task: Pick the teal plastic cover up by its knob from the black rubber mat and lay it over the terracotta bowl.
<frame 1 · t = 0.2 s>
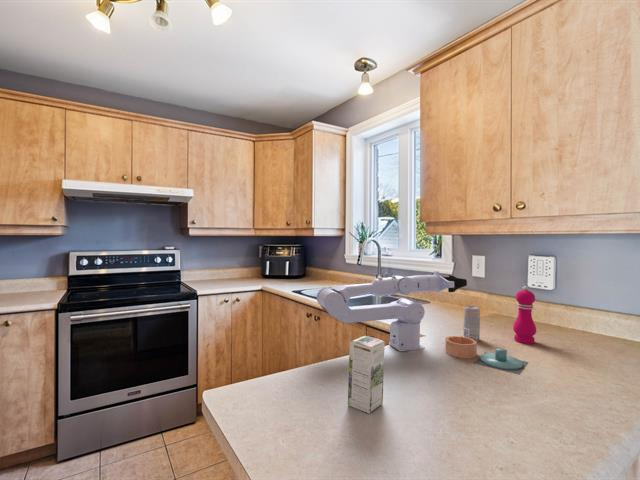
hand: (458, 281, 120), 22 cm above the worktop, tool horizontal, fingers open, 7 cm apart
bowl: (460, 354, 108), on the worktop
syrup box: (365, 406, 75), on the worktop
mat: (500, 364, 101), on the worktop
pepper mill: (524, 341, 123), on the worktop
energy drink: (471, 340, 123), on the worktop
cover: (500, 362, 101), resting on mat
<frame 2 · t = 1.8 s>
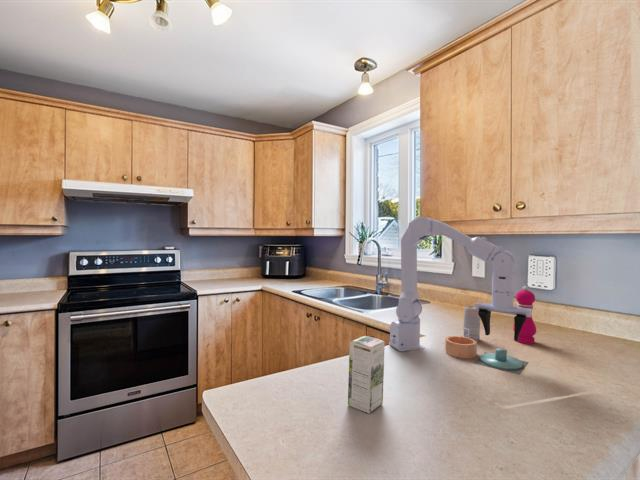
hand: (501, 337, 101), 8 cm above the worktop, tool pointing down, fingers open, 7 cm apart
nothing on the worktop moved.
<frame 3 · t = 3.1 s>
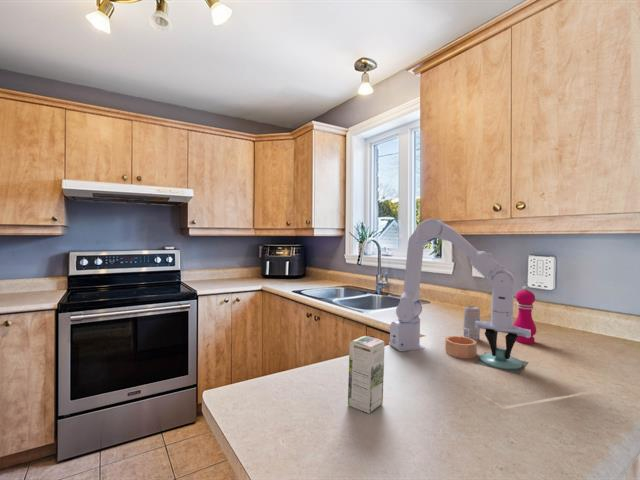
hand: (500, 356, 101), 2 cm above the worktop, tool pointing down, fingers closed on cover, 3 cm apart
cover: (500, 362, 101), point 1 cm above the worktop, touching gripper, mat
everything else where it was.
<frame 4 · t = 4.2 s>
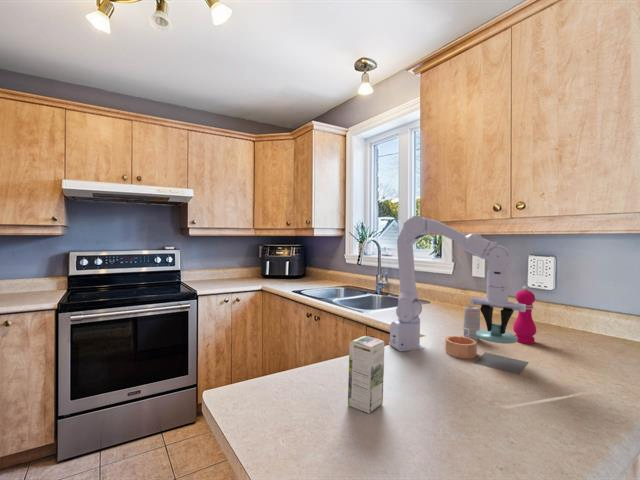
hand: (496, 331, 101), 9 cm above the worktop, tool pointing down, fingers closed on cover, 3 cm apart
cover: (496, 337, 101), point 8 cm above the worktop, touching gripper
everything else where it was.
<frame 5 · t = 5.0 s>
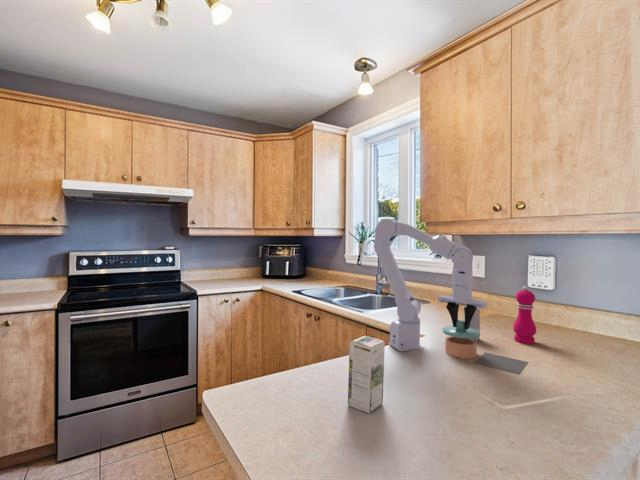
hand: (461, 327, 108), 9 cm above the worktop, tool pointing down, fingers closed on cover, 3 cm apart
cover: (461, 333, 108), point 7 cm above the worktop, touching gripper
everything else where it was.
when the fingers open (7 cm above the worktop, at t = 5.5 s): cover stays where it is, resting on bowl.
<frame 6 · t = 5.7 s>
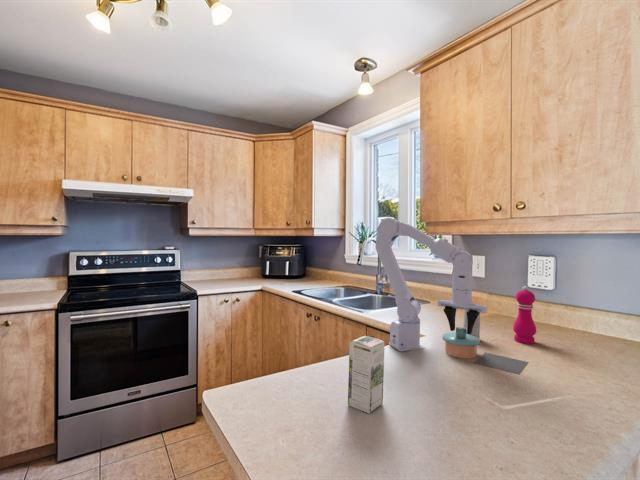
hand: (460, 331, 108), 7 cm above the worktop, tool pointing down, fingers open, 5 cm apart
cover: (460, 340, 108), point 4 cm above the worktop, touching bowl
everything else where it was.
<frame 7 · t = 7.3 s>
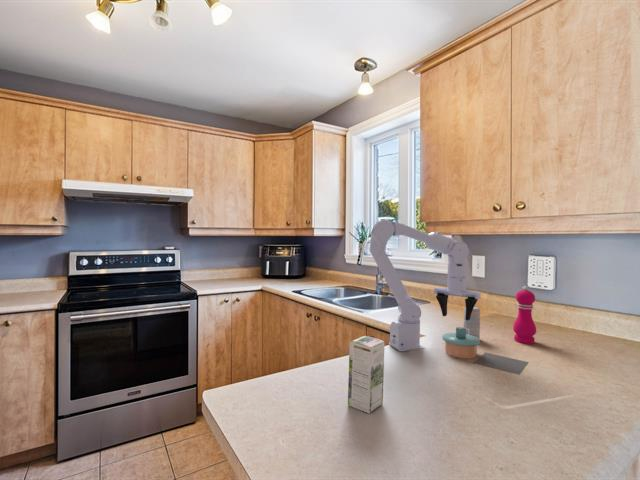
hand: (456, 317, 114), 10 cm above the worktop, tool pointing down, fingers open, 7 cm apart
nothing on the worktop moved.
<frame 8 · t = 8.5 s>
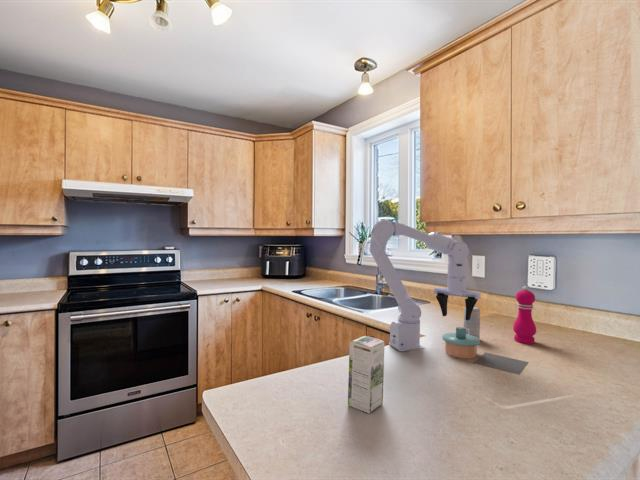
hand: (456, 317, 114), 10 cm above the worktop, tool pointing down, fingers open, 7 cm apart
nothing on the worktop moved.
at the end: cover 0.0 cm off-centre on the bowl, point 4.5 cm above the bowl's base; cover tilted 0°; the gripper is holding nothing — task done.
